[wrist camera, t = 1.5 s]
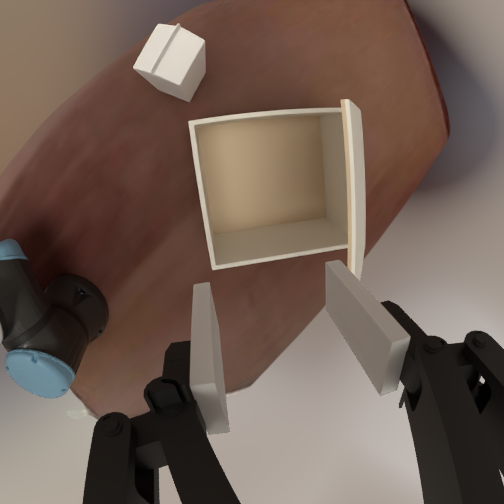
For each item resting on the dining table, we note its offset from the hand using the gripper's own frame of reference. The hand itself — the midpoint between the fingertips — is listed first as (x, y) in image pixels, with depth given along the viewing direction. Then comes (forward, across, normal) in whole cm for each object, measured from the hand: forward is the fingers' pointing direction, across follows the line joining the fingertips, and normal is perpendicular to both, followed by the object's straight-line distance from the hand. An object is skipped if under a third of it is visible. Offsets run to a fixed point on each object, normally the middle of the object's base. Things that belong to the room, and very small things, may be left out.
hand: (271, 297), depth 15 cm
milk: (+40, -5, +18) cm, 44 cm away
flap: (+17, +13, 0) cm, 21 cm away
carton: (+40, +7, 0) cm, 40 cm away
